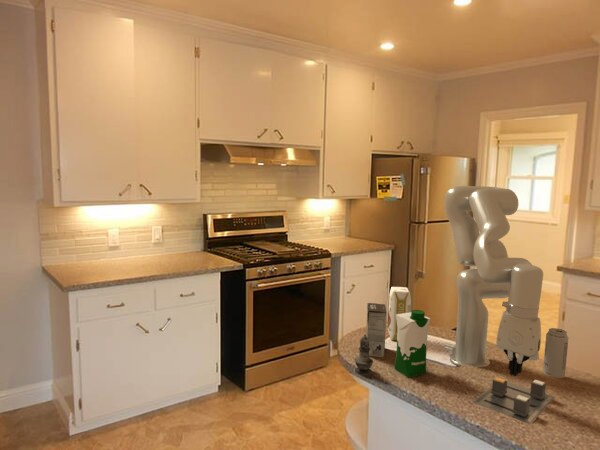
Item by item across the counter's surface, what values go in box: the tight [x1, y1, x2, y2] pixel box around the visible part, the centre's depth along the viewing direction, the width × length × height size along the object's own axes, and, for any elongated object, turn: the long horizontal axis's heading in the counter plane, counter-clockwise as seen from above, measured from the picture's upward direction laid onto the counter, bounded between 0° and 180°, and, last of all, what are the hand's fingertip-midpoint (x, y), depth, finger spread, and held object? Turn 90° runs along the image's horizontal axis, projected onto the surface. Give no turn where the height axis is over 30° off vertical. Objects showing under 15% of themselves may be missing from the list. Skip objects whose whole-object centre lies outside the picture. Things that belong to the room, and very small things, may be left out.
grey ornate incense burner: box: [354, 334, 374, 376], centre depth 142 cm, size 6×6×12 cm
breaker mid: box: [491, 376, 508, 397], centre depth 126 cm, size 3×4×4 cm
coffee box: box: [365, 302, 387, 358], centre depth 158 cm, size 9×6×16 cm
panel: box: [471, 381, 556, 425], centre depth 124 cm, size 15×20×1 cm
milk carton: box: [394, 309, 432, 378], centre depth 142 cm, size 9×9×20 cm
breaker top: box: [530, 379, 547, 400], centre depth 125 cm, size 3×4×4 cm
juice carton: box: [387, 286, 412, 341], centre depth 172 cm, size 8×9×19 cm
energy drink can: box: [542, 327, 569, 379], centre depth 141 cm, size 6×6×15 cm
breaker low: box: [512, 395, 530, 417], centre depth 116 cm, size 3×4×4 cm
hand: (514, 373), depth 124 cm, fingers closed
